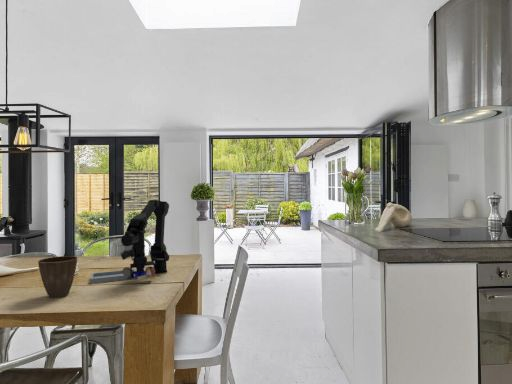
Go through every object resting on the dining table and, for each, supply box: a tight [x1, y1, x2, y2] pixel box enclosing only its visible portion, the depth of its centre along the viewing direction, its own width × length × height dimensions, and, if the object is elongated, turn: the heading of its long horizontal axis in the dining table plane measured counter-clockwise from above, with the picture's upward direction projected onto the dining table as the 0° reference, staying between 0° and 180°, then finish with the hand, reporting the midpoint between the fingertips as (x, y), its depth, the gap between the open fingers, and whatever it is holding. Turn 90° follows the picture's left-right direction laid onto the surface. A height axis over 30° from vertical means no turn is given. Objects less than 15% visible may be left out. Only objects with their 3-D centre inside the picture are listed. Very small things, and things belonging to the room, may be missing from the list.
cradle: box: [90, 268, 139, 285], centre depth 175 cm, size 22×13×2 cm, turn 114°
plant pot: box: [37, 255, 78, 299], centre depth 147 cm, size 15×15×16 cm
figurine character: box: [122, 260, 156, 280], centre depth 167 cm, size 7×8×15 cm
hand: (139, 274), depth 167 cm, fingers closed on figurine character, 7 cm apart
